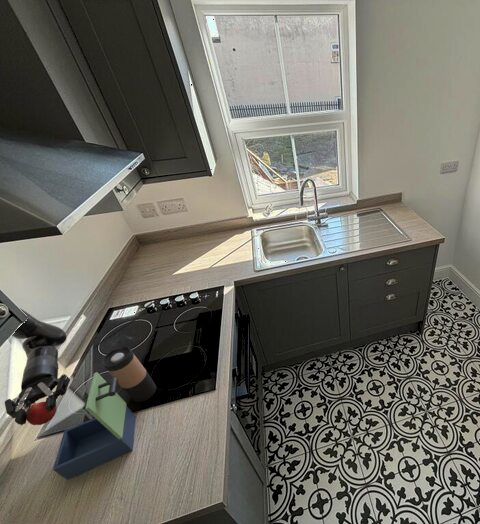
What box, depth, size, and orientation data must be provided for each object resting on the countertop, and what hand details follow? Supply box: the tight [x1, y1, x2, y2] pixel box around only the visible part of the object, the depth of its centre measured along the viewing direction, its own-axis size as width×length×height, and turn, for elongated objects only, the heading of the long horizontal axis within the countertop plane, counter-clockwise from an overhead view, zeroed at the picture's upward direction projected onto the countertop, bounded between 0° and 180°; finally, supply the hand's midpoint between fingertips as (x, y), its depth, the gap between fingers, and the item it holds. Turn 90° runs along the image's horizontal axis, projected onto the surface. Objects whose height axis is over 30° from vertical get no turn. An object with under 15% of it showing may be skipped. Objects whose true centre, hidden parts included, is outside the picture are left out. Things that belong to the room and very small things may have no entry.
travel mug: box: [101, 346, 157, 403], centre depth 96 cm, size 8×8×20 cm
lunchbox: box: [52, 405, 137, 481], centre depth 86 cm, size 16×12×7 cm
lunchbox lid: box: [85, 371, 127, 439], centre depth 82 cm, size 16×12×5 cm
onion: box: [26, 401, 57, 426], centre depth 82 cm, size 6×6×8 cm
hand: (35, 415), depth 79 cm, fingers closed on onion, 5 cm apart
